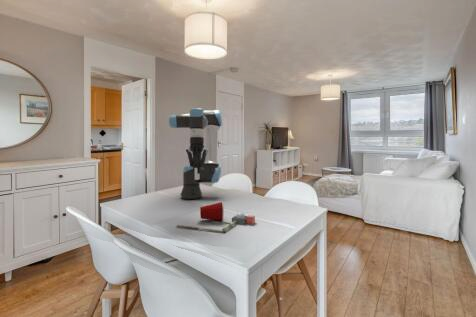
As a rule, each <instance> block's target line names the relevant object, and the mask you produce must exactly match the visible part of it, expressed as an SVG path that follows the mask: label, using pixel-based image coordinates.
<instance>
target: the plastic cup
mask: <svg viewBox="0 0 476 317" xmlns="http://www.w3.org/2000/svg"><path fill="white" fill-rule="evenodd" d="M224 208H225V207H224V202H223V201H222V200H221V201H220V202H216V203H212V204H211V203H210V204H207V205H203V206H200V207H199V211H200V212H199V213H200V215H199V217H200V219H201V220H211V221H220V222H224V215H225V214H224Z"/></svg>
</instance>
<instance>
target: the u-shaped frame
mask: <svg viewBox="0 0 476 317" xmlns="http://www.w3.org/2000/svg"><path fill="white" fill-rule="evenodd" d="M203 221H206V222H213V223H218V224H219V223H220V224H224V225H225V224H226V225H225V226H224V227H222V229H221V230H220V229H214V228H213V229H212V228H205V227H194V226H188V225H178V224H177V225H176V226H175V227H176V228H177V229H186V230H195V231H205V232H211V233H220V234H225V233H227V232H228V231H230V229H232V228H234V227H235V226H236V225H237V224H236V221H234V222H232V221H231V222H230V221H229V222H228V221H223V222H222V221H218V220H209V219H203Z"/></svg>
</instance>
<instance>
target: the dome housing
mask: <svg viewBox="0 0 476 317" xmlns="http://www.w3.org/2000/svg"><path fill="white" fill-rule="evenodd" d="M234 221H236V225H243V226H248V227H249V226H250V227H253V226H254V225H255V222H256V216H255V215H249V214H248V215H245V219H241V218H236V215H234V216H233V217H232V218H231V223H232V222H234Z"/></svg>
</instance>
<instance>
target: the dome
mask: <svg viewBox="0 0 476 317" xmlns="http://www.w3.org/2000/svg"><path fill="white" fill-rule="evenodd" d="M235 216H236V218H241V219H245V216H246V215H245V213H243V212H237V213H236V215H235Z"/></svg>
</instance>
